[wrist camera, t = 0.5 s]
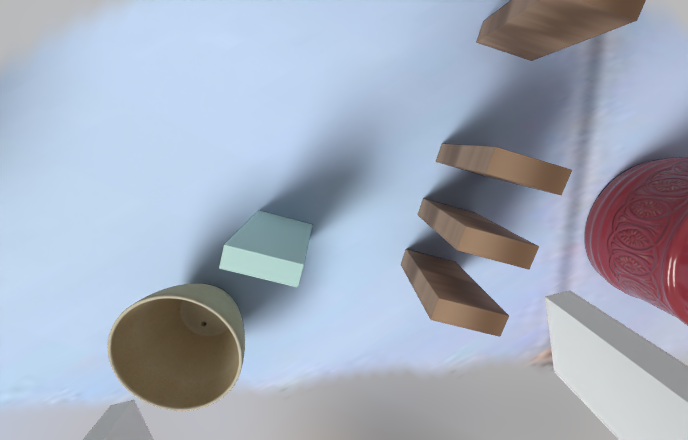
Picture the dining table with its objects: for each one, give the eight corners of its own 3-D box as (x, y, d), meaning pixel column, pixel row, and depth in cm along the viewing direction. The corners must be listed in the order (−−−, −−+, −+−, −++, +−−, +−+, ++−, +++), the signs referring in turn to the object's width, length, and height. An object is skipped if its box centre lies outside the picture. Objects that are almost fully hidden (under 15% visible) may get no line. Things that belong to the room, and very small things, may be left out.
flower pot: (193, 239, 31) (153, 269, 24) (281, 302, 33) (268, 347, 26) (134, 317, 32) (80, 366, 25) (221, 372, 34) (193, 433, 27)
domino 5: (400, 264, 32) (430, 319, 22) (405, 249, 32) (438, 298, 22) (449, 277, 33) (500, 336, 23) (455, 262, 32) (509, 315, 22)
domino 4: (417, 214, 31) (456, 250, 21) (423, 198, 31) (465, 226, 21) (468, 228, 31) (529, 269, 22) (474, 212, 31) (539, 246, 21)
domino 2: (476, 42, 28) (554, -10, 18) (483, 21, 27) (566, -43, 18) (531, 60, 28) (637, 20, 18) (539, 40, 28) (650, -12, 18)
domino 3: (435, 161, 30) (485, 173, 20) (441, 143, 30) (495, 146, 20) (487, 176, 30) (561, 195, 21) (494, 159, 30) (572, 169, 20)
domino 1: (254, 227, 31) (219, 268, 21) (258, 210, 30) (224, 244, 21) (308, 240, 31) (297, 287, 21) (312, 224, 31) (303, 264, 21)
